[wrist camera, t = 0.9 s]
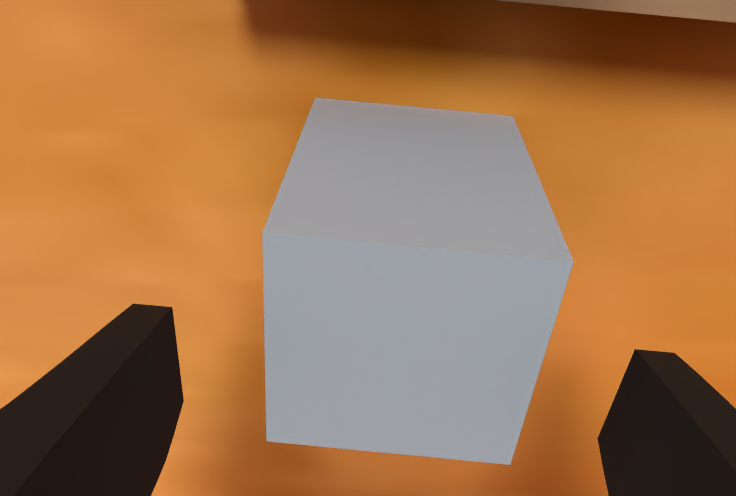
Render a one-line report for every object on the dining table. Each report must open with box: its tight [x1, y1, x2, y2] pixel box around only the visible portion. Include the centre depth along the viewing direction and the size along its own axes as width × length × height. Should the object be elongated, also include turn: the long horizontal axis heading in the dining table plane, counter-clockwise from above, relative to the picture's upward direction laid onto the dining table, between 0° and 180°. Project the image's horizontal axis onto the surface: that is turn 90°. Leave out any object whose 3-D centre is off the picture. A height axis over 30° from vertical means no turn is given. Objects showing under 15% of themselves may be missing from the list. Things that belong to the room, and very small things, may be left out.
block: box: [263, 98, 574, 465], centre depth 13 cm, size 4×4×6 cm
